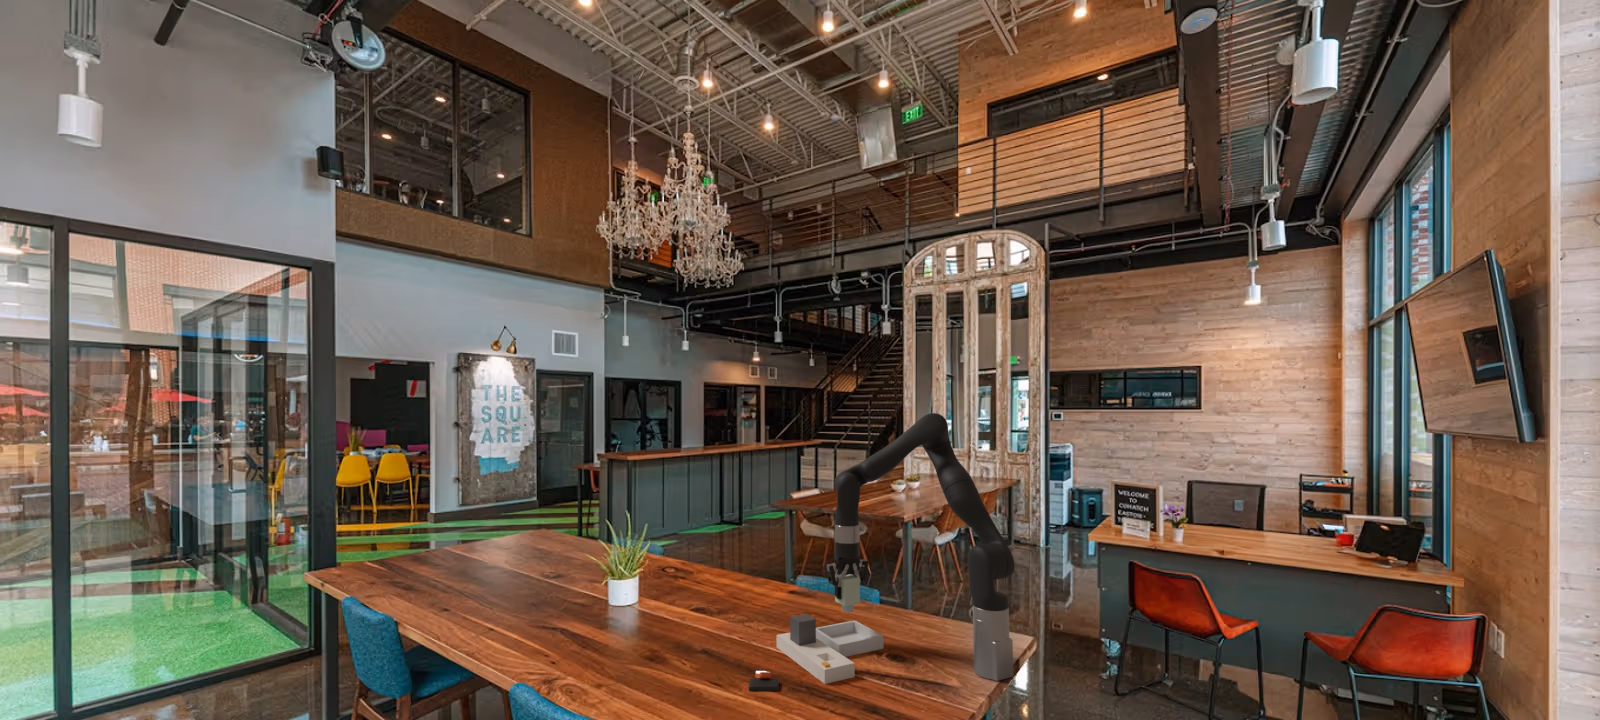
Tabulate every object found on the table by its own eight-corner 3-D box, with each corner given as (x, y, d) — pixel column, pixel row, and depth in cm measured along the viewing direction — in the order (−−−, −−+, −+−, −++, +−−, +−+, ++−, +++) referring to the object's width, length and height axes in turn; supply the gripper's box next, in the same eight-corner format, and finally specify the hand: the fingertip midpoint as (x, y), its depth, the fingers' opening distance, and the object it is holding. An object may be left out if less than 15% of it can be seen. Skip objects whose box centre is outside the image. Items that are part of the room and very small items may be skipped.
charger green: (860, 612, 184) (859, 577, 185) (844, 614, 181) (844, 579, 182) (850, 606, 189) (850, 573, 189) (835, 609, 186) (834, 575, 187)
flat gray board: (854, 676, 161) (854, 660, 162) (824, 684, 157) (824, 667, 158) (803, 641, 186) (803, 627, 186) (776, 647, 182) (776, 632, 182)
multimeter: (742, 662, 172) (742, 650, 172) (785, 664, 171) (785, 651, 171) (729, 692, 154) (730, 678, 154) (778, 694, 153) (778, 680, 153)
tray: (883, 648, 181) (883, 635, 181) (839, 658, 174) (838, 644, 174) (854, 632, 194) (854, 620, 194) (812, 640, 187) (812, 628, 187)
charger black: (815, 651, 176) (815, 619, 177) (799, 655, 173) (799, 622, 174) (806, 645, 181) (806, 613, 181) (790, 648, 178) (790, 616, 179)
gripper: (833, 544, 180) (833, 604, 179) (874, 539, 187) (874, 597, 185) (820, 539, 187) (820, 597, 185) (860, 535, 193) (860, 591, 192)
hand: (847, 597), depth 185 cm, fingers closed on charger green, 5 cm apart
